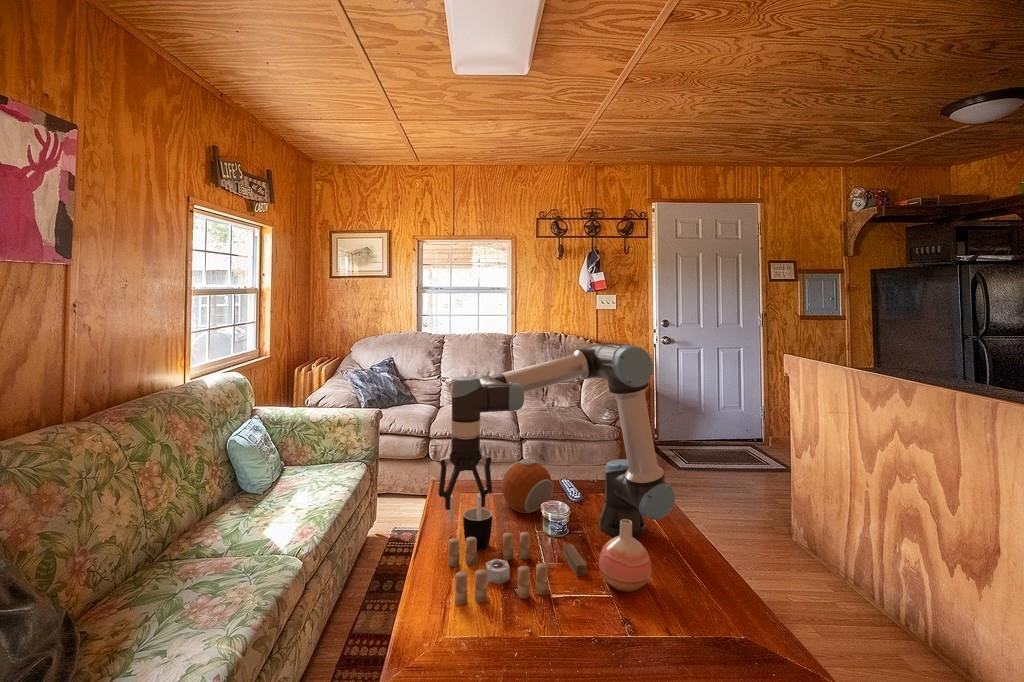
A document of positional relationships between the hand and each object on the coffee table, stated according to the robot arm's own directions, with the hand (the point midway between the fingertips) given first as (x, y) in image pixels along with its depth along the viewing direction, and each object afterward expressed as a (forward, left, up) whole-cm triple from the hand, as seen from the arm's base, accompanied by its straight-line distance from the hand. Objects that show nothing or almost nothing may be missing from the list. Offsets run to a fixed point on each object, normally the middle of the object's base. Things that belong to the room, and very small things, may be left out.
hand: (465, 519), depth 128 cm
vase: (-42, +10, -17) cm, 46 cm away
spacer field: (-8, 0, -17) cm, 19 cm away
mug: (-6, -20, -17) cm, 27 cm away
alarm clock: (-29, -45, -17) cm, 56 cm away
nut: (-9, 0, -17) cm, 19 cm away
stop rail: (-32, -2, -17) cm, 36 cm away
